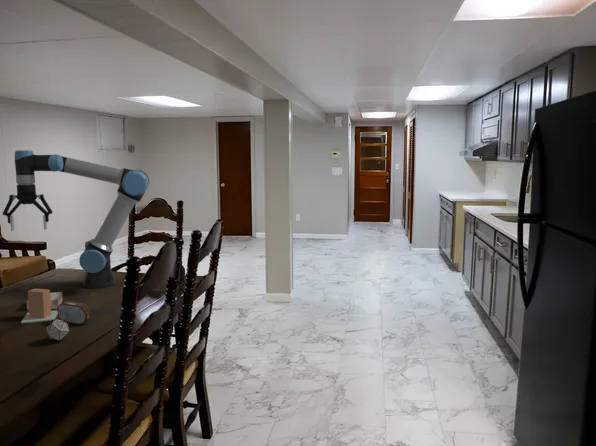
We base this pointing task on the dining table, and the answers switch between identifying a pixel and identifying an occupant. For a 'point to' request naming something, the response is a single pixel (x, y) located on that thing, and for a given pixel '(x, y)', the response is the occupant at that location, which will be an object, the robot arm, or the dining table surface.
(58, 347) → the dining table surface
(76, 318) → the portable speaker
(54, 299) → the beige stone slab
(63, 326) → the game die
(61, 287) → the dining table surface
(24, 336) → the dining table surface
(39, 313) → the tan upright block
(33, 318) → the mat
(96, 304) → the dining table surface
